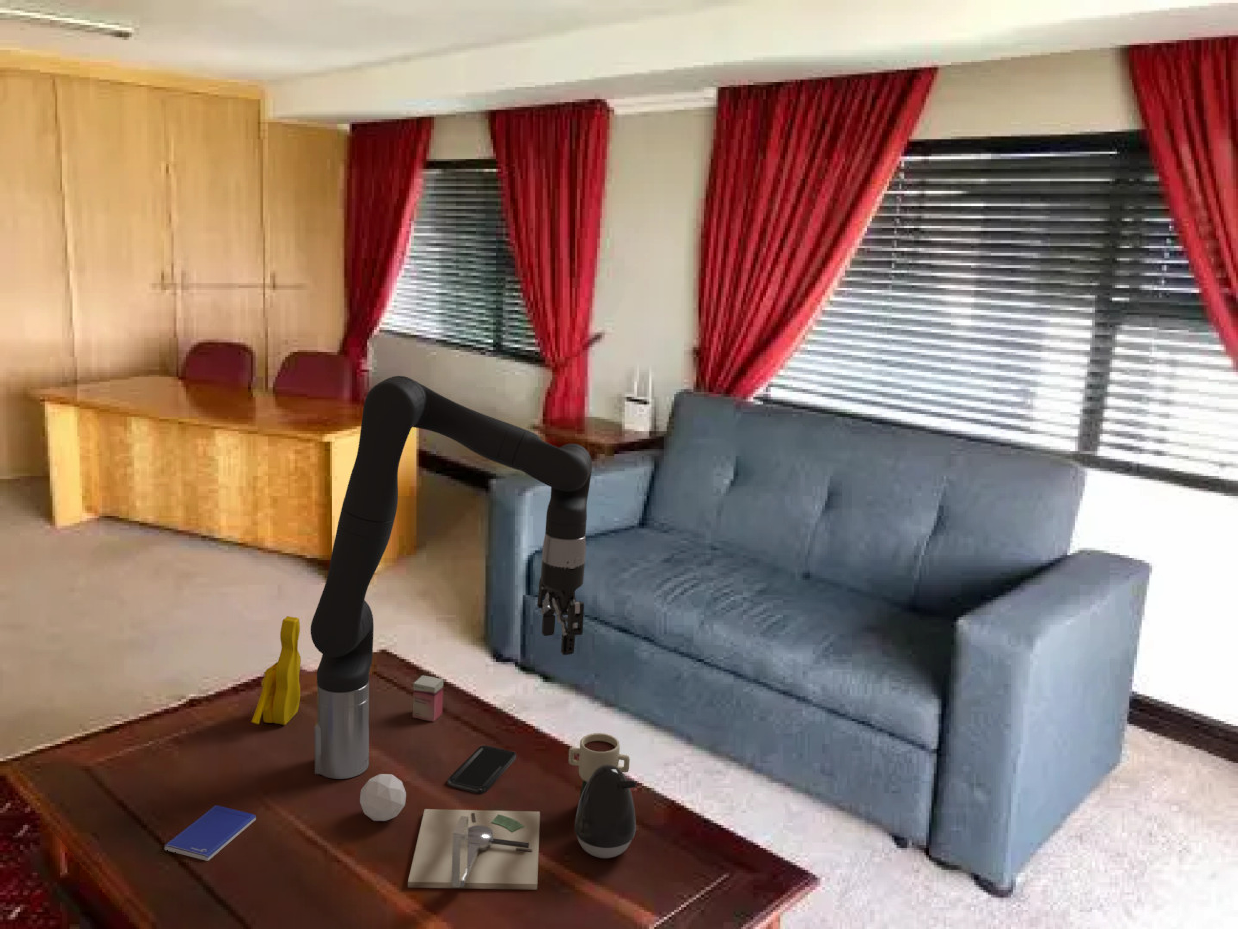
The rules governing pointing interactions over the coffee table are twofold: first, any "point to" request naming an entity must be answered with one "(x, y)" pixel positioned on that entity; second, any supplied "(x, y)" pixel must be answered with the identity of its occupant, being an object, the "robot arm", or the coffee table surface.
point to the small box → (427, 698)
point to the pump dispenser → (606, 813)
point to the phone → (481, 769)
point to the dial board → (492, 864)
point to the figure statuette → (282, 679)
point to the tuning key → (472, 848)
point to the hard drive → (210, 833)
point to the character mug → (597, 755)
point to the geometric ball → (383, 797)
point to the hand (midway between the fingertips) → (557, 644)
